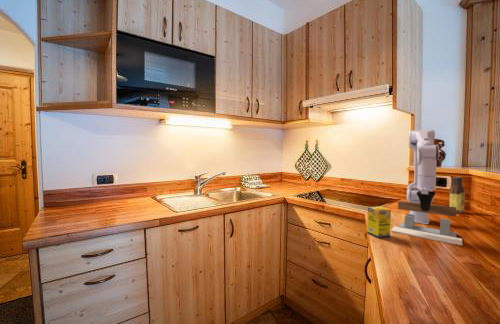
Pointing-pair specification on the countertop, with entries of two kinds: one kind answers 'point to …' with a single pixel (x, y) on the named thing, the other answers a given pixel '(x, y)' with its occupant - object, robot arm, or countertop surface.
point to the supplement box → (379, 221)
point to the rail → (433, 208)
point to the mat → (427, 235)
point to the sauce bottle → (457, 195)
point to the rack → (443, 228)
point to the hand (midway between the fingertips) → (425, 210)
